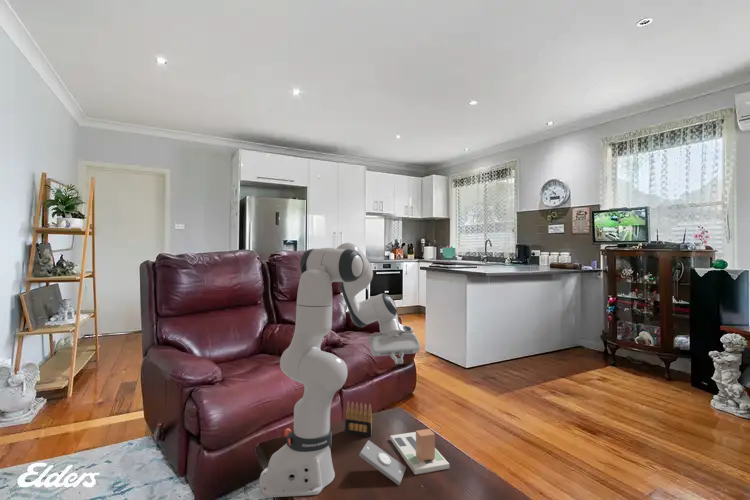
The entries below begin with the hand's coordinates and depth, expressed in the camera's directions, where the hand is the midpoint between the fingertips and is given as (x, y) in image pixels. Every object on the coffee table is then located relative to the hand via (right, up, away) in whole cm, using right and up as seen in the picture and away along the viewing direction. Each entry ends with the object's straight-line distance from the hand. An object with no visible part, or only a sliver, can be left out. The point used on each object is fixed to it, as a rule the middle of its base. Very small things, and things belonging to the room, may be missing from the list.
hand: (399, 363), depth 147 cm
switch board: (+5, -26, -16) cm, 31 cm away
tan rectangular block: (+7, -24, -22) cm, 33 cm away
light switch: (-7, -26, -29) cm, 39 cm away
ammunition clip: (-16, -26, -2) cm, 31 cm away
